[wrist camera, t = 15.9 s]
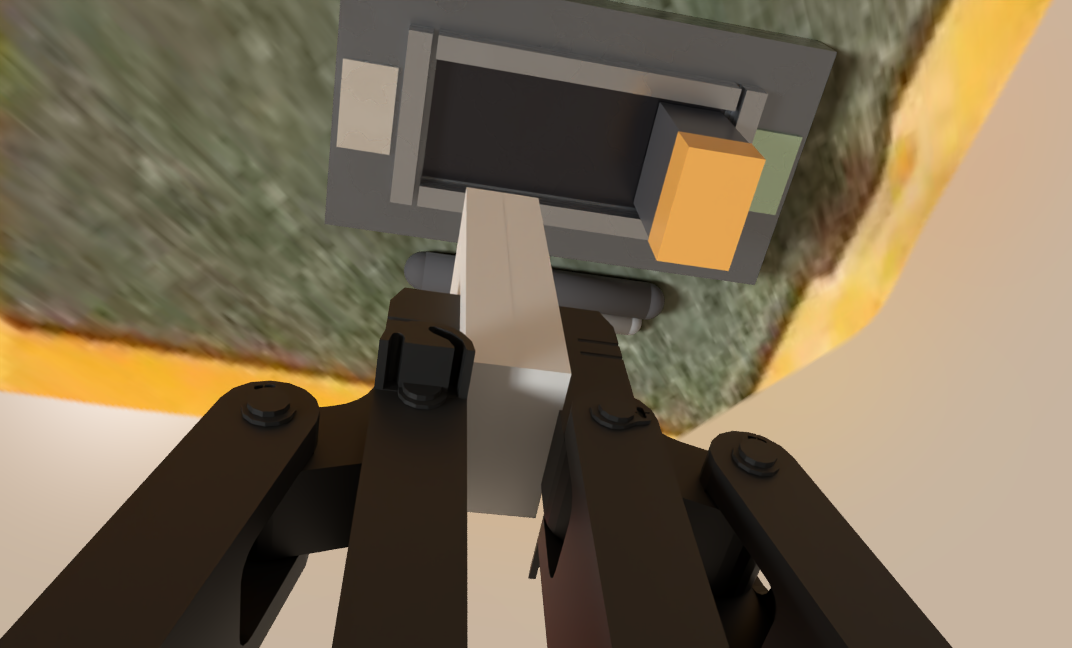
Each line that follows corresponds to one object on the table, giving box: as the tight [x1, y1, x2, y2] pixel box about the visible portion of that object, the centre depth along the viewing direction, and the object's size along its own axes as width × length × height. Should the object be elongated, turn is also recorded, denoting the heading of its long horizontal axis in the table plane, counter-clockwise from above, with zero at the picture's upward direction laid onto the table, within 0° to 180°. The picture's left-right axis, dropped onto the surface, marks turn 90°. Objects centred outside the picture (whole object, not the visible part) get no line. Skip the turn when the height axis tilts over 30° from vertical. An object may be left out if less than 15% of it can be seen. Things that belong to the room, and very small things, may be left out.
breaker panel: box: [325, 0, 837, 285], centre depth 40 cm, size 22×12×4 cm, turn 79°
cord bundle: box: [404, 252, 664, 335], centre depth 45 cm, size 14×3×2 cm, turn 79°
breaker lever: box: [633, 102, 766, 271], centre depth 37 cm, size 3×5×6 cm, turn 169°
